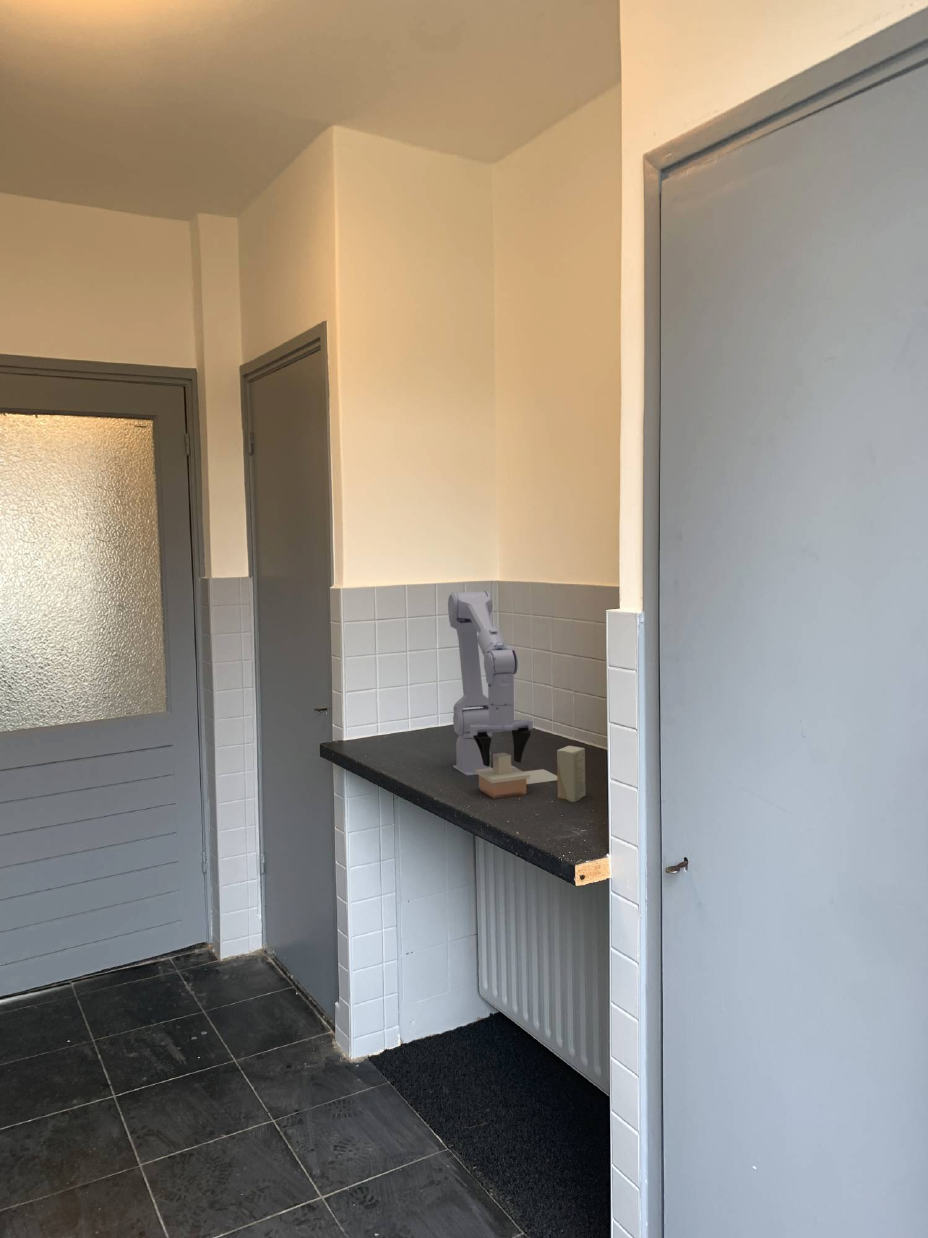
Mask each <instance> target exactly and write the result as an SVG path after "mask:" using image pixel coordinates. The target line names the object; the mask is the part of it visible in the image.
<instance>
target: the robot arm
mask: <svg viewBox="0 0 928 1238" xmlns="http://www.w3.org/2000/svg"><path fill="white" fill-rule="evenodd" d="M492 611H493V598H492V595H491V593H490V592H489V591H488V590H483V591H466V592H465V591H463V592H455V591H452V592H450V594H449V595H448V601H447V612H448V621H449V623H450V627H451V628H453V629H455V630H456V633H457V640H458V650H459V659H460V672H461V682H462V690H463V691H462V692H463V696H462V697H461V698H460V699H458V700H457V701H456V702H455V704H454V705H453V716H452V721H453V723H452V724H453V725H452V726H453V729H454V732H455V734H457V735H458V737H457V739H456V743H455V748H456V751H455V752H456V753H455V754H456V764H455V765H453V766H452V767H453V768H454V769H456V771H457V770H458V771H459V772H461V773H462V774H464V776H465V775H466V776H474V775H477V774H476V770H479V769H487V768H493V767H491V742H492V737H493V733H501V732H511V734H512V741H513V742H512V743H513V759H514V760H513V761H514V762H516V763H521V762H522V758H523V754H524V751H525V747H526V744H527V743H528V740H529V738H530V737H531V730H534V729H533V728H534V727H533V724H534V723H533V720H532V719H529V718H525V719H515V678H514V677H515V676H514V675H516V674H517V672H518V668H519V663H518V662H519V661H518V655H517V652H516V649H514V648H513V647H511V646H508V645H507V643H506V641H505V639H504V636H503V634H502V632H501V631H500V630H499V628H497V627H494V624H493V621H492V617H491V613H492ZM479 649H480V650H481V653H482V655H483V658H484V659H483V668H484V672H485V683H487V690H488V691H487V696H486V695H485V694H484V690H483V682H482V672H481V662H480V659H481V658H480V650H479Z"/></svg>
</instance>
